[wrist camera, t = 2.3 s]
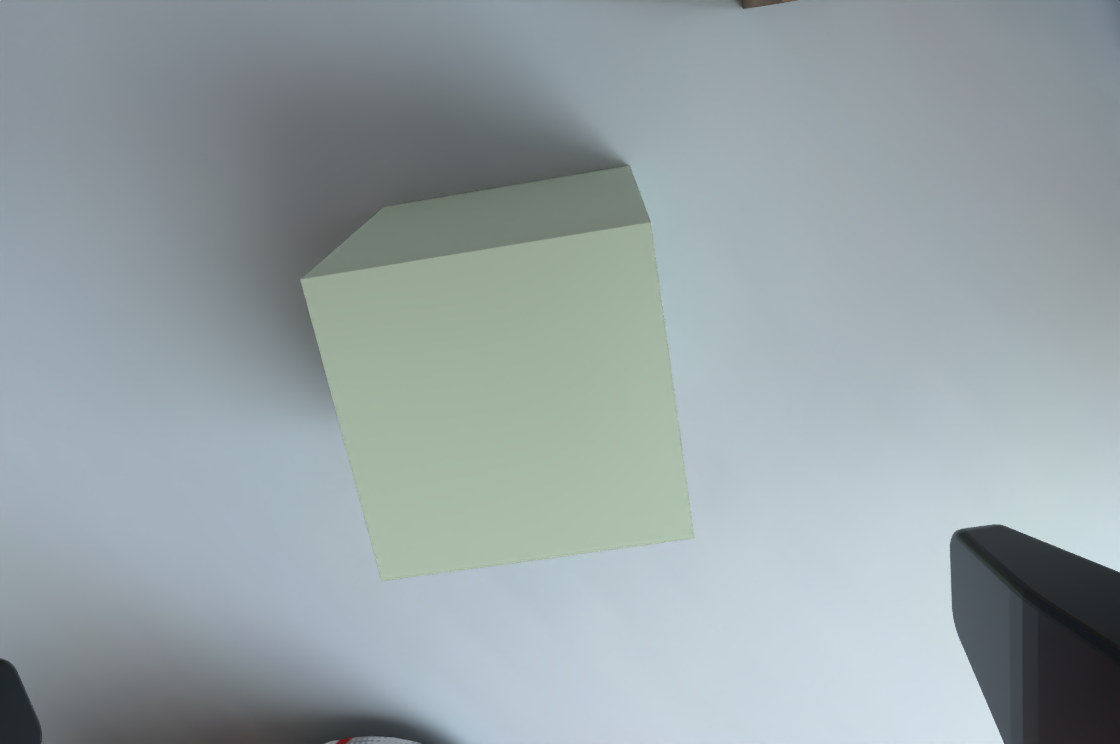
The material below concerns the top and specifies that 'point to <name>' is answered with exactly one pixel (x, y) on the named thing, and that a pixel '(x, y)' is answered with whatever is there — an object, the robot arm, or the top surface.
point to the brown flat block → (761, 2)
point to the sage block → (504, 375)
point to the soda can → (373, 740)
